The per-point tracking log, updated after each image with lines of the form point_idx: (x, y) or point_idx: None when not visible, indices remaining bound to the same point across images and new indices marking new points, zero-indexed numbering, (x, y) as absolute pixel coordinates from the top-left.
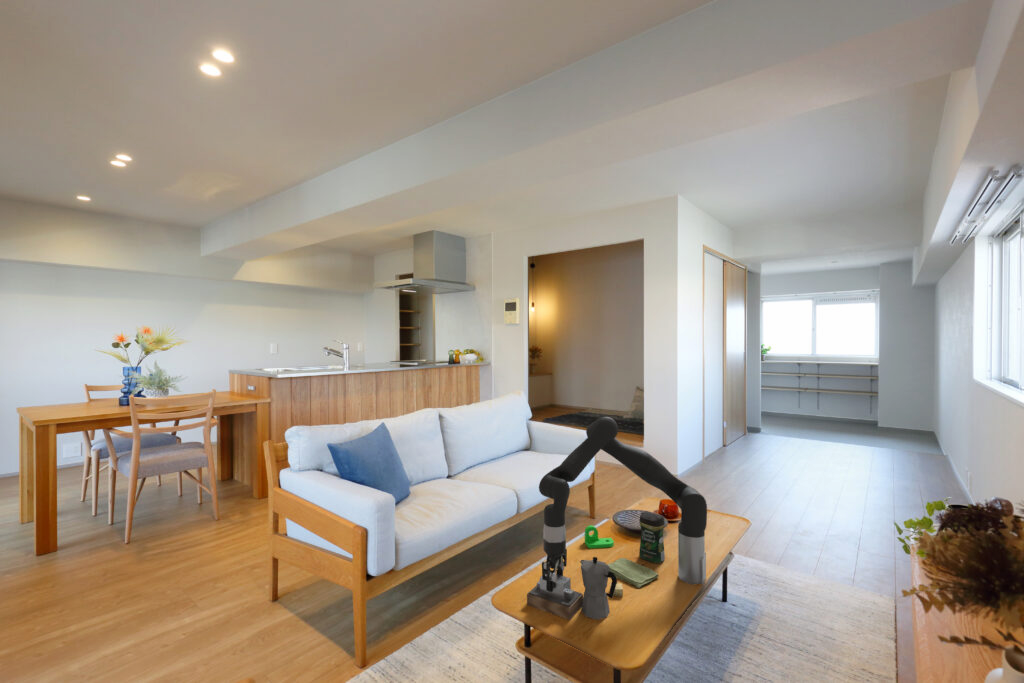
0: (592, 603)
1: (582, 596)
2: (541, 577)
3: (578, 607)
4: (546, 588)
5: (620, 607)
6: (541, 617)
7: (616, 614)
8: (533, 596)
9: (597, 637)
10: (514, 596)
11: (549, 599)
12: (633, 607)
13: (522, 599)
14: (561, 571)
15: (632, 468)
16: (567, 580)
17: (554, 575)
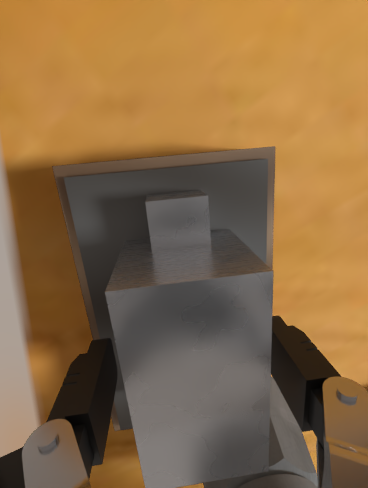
0: (204, 485)
1: None
2: (116, 305)
3: None
4: (70, 365)
5: (308, 445)
6: (53, 284)
7: None
8: (66, 223)
9: (106, 476)
10: (105, 22)
11: (98, 331)
12: None
13: (113, 96)
14: (304, 424)
15: None
16: (223, 474)
17: (235, 371)
